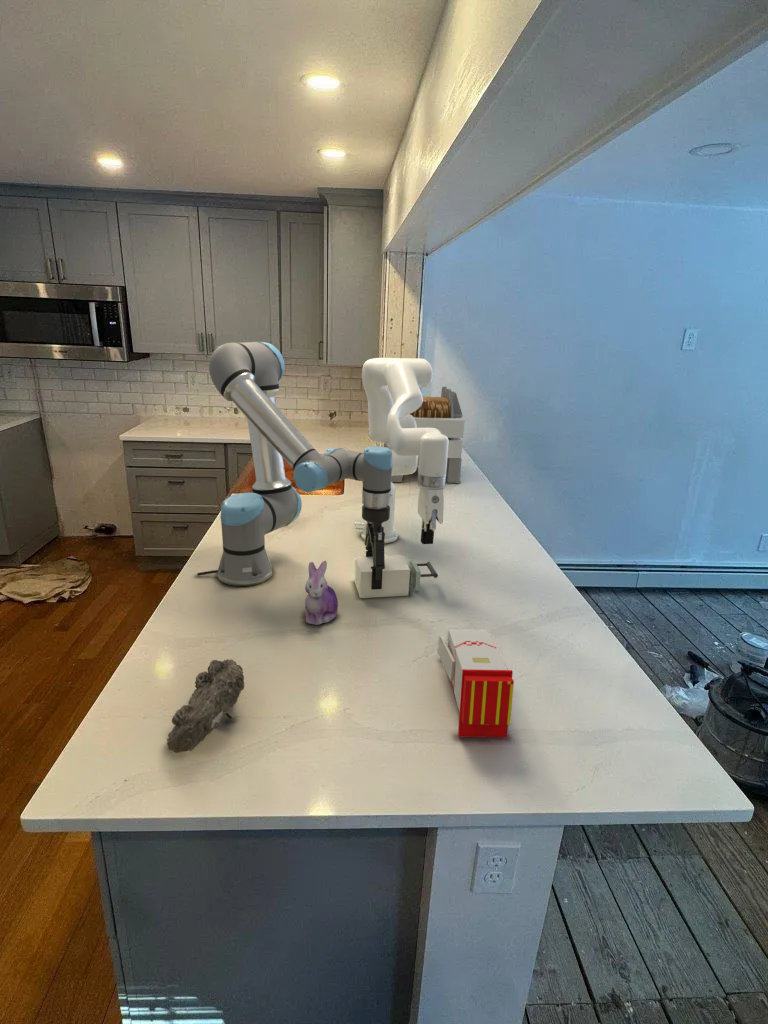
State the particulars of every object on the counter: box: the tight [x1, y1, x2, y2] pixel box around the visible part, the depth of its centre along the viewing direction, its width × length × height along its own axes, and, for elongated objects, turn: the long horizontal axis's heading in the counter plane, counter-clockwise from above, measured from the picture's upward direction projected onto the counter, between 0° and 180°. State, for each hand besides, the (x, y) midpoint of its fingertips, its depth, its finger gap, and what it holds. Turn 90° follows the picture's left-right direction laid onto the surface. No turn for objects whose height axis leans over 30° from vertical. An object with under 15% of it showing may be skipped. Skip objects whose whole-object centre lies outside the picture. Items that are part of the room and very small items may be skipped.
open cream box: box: [354, 554, 410, 599], centre depth 159 cm, size 14×10×8 cm
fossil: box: [166, 658, 245, 754], centre depth 106 cm, size 22×10×15 cm
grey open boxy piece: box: [383, 386, 465, 484], centre depth 268 cm, size 34×33×41 cm
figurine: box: [304, 560, 339, 626], centre depth 142 cm, size 9×10×15 cm
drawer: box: [408, 558, 439, 592], centre depth 160 cm, size 18×8×6 cm, turn 101°
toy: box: [437, 628, 515, 738], centre depth 117 cm, size 12×13×30 cm
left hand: (373, 580), depth 159 cm, fingers closed on open cream box, 10 cm apart
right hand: (426, 542), depth 158 cm, fingers closed
